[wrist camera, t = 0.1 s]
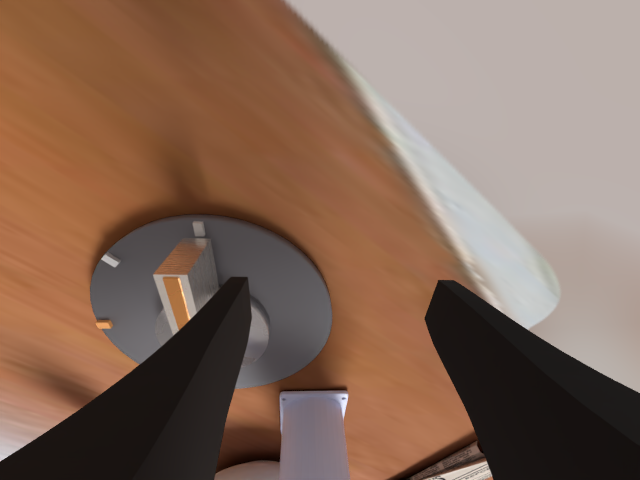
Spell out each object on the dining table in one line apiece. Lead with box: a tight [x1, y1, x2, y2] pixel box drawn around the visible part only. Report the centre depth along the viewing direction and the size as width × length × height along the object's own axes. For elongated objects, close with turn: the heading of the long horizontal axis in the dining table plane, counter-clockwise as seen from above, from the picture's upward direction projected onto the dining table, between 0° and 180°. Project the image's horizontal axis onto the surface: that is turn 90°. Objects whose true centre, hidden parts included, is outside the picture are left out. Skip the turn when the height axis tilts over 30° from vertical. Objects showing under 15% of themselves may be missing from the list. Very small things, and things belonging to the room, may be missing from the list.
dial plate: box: [90, 214, 332, 389], centre depth 23 cm, size 20×20×1 cm
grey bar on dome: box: [153, 238, 270, 367], centre depth 19 cm, size 14×9×5 cm, turn 177°
